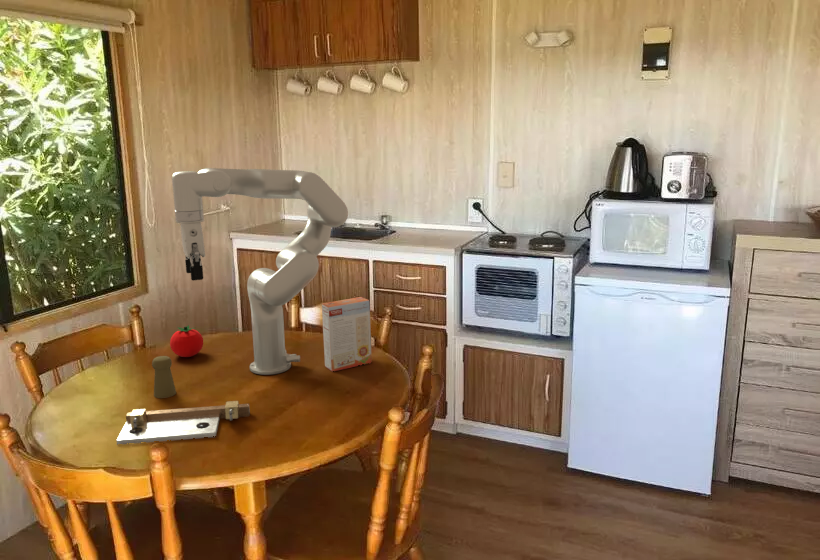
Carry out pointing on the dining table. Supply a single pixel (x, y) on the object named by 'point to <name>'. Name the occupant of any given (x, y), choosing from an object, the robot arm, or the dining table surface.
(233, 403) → the block
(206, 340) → the dining table surface
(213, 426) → the hole plate
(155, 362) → the salt shaker
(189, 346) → the tomato
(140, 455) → the dining table surface
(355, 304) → the cracker box
